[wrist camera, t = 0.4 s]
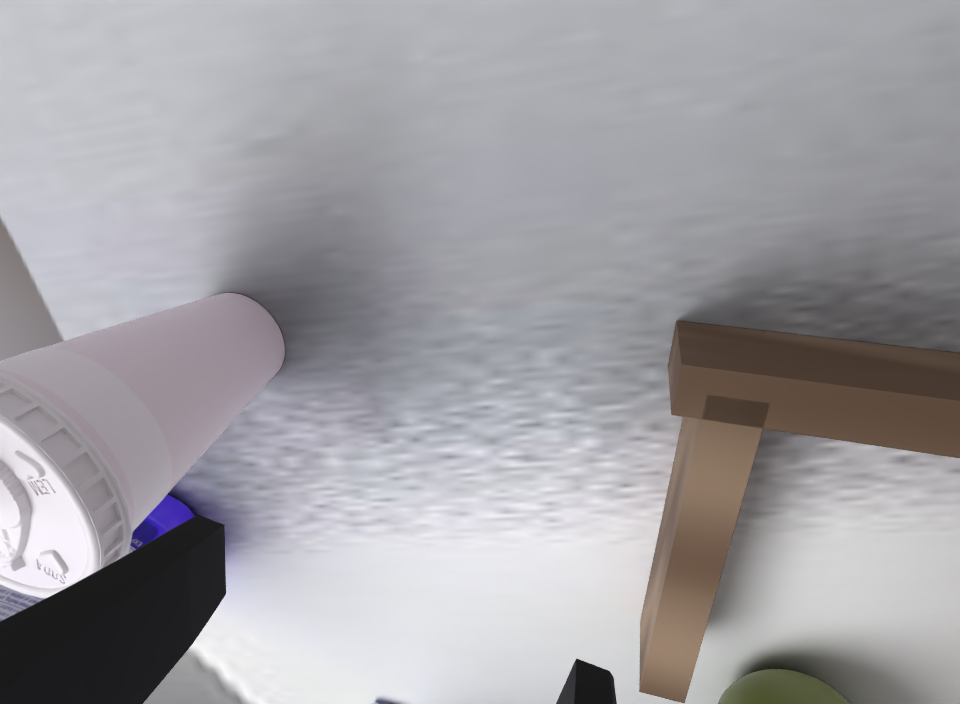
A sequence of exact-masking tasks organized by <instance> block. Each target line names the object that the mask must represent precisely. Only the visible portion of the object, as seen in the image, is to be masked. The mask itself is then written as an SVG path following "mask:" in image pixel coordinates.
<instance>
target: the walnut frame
mask: <svg viewBox="0 0 960 704" xmlns="http://www.w3.org/2000/svg"><path fill="white" fill-rule="evenodd" d="M668 371H669V385H670V400H671V414H672V415H676V416H683V420H682V425H681V430H680V435H679V439H678V444H677V449H676V454H675V458H674V463H673V468H672V473H671V478H670V482H669V487H668V492H667V497H666V501H665V506H664V511H663V516H662V520H661V525H660V530H659V535H658V539H657V544H656V549H655V554H654V558H653V563H652V568H651V573H650V578H649V582H648V587H647V592H646V597H645V601H644V606H643V611H642V616H641V621H640V689H639V692H643V693H646V694H650V695H654V696H658V697H662V698H666V699H670V700H673V701H677V702H681V703H685V699H686V696H687V692H688V689H689V685H690V682H691V678H692V675H693V671H694V668H695V664H696V661H697V657H698V654H699V650H700V647H701V643H702V640H703V636H704V633H705V629H706V626H707V622H708V619H709V615H710V612H711V608H712V605H713V601H714V598H715V594H716V591H717V587H718V584H719V580H720V577H721V573H722V570H723V566H724V563H725V559H726V556H727V552H728V549H729V545H730V542H731V538H732V535H733V531H734V528H735V524H736V521H737V517H738V514H739V511H740V507H741V504H742V500H743V497H744V493H745V490H746V486H747V483H748V479H749V476H750V472H751V469H752V465H753V462H754V458H755V455H756V451H757V448H758V444H759V441H760V437H761V434H762V430H763V429H769V430H776V431H783V432H789V433H796V434H802V435H809V436H816V437H822V438H829V439H836V440H842V441H849V442H856V443H862V444H869V445H876V446H882V447H889V448H896V449H902V450H909V451H916V452H922V453H929V454H935V455H942V456H949V457H955V458H960V353H954V352H945V351H936V350H928V349H919V348H910V347H901V346H893V345H884V344H875V343H866V342H858V341H849V340H840V339H831V338H823V337H814V336H805V335H796V334H788V333H779V332H770V331H761V330H753V329H744V328H735V327H726V326H718V325H709V324H700V323H691V322H683V321H676V326H675V331H674V336H673V342H672V347H671V352H670V358H669V363H668Z"/></svg>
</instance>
